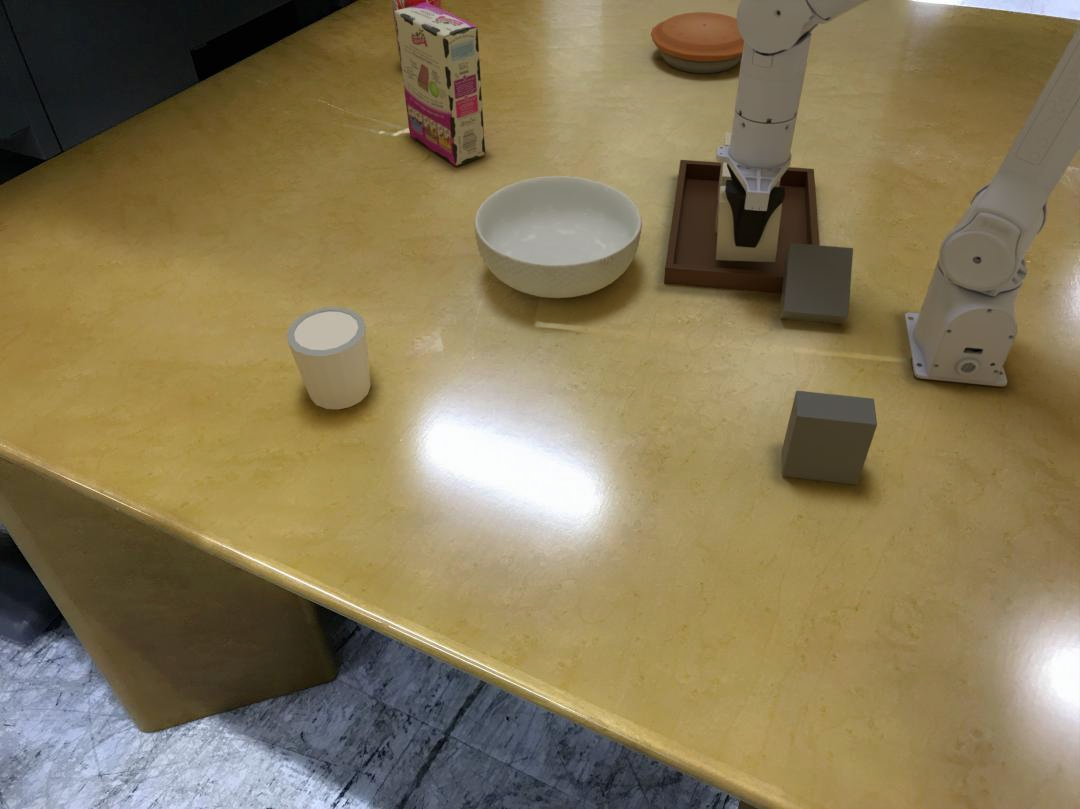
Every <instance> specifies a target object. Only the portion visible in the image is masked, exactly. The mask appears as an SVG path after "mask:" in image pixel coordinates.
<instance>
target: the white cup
mask: <svg viewBox="0 0 1080 809" xmlns="http://www.w3.org/2000/svg"><path fill="white" fill-rule="evenodd" d="M367 335H368V334H367V327H366V322H365V319H364V317H362V316H361V315H360V314H359V313H358V312H357V311H355V310H352V309H350V308H346V307H340V306H339V307H338V306H327V307H322V308H317V309H313V310H311V311H308V312H306V313H304V314H302V315H300V316H299V317H298V318H297V319H295V320H294V321H293V322H292V323H290V326H289V328H288V330H287V331H286V339H287V345H288V347H289V349H290V352H291V354H292V356H293V359H294V361H295V364H296V366H297V368H298V369H297V370H298V371H299V373H300V376H301V378H302V381H303V384H304V387H305V388H306V391H307V393H308V395H309V399H310V400H311V401H312V402H313V403H314V404H315V405H316V406H318V407H320V408H323V409H325V410H342V409H347V408H351V407H353V406H355V405H357V404H359V403H360V402H362V401H363V400H364V399H366V397H367V396H368V395H369V392H370V389H371V386H372V385H371V374H370V372H371V371H370V362H369V361H370V360H369V349H368V348H369V347H368V336H367Z"/></svg>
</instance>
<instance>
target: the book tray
mask: <svg viewBox="0 0 1080 809" xmlns="http://www.w3.org/2000/svg"><path fill="white" fill-rule="evenodd" d="M720 170H721V162H718V161H705V160H689V159H680V160H679V166H678V174H677V182H676V187H675V195H674V203H673V210H672V216H671V224H670V232H669V238H668V244H667V245H668V246H667V251H666V252H667V253H666V260H665V267H664V277H663V284H664V285H675V286H676V285H677V286H687V287H696V288H697V287H698V288H708V289H709V288H710V289H711V288H712V289H720V290H731V291H732V290H733V291H743V292H754V293H767V294H775V295H782V286H783V274H784V263H785V254H786V251H787V249H788V246H789V244H790V243H795V244H807V245H820V232H819V220H818V219H819V218H818V206H817V193H816V192H817V191H816V180H815V179H816V178H815V168H808V167H807V168H806V167H794V166H793V167H792V166H789V168H788V169H787V170H786V172H785V173H784V174H783V176H782V177H781V178H780V185H779V187H784V188H785V198H784V200H783V202H782V209H781V217H780V226H779V234H778V243H777V251H776V260H775V262H755V261H727V260H716V249H717V233H715V224H716V214H717V206H718V200H717V198H718V186H719V178H720ZM820 246H821V245H820Z"/></svg>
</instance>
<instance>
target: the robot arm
mask: <svg viewBox="0 0 1080 809" xmlns="http://www.w3.org/2000/svg"><path fill="white" fill-rule="evenodd" d="M868 1H869V0H740V1H739V3H738V6H737V11H736V19H737V26H738V30H739V33H740V35H741V37H742V38H743V40H744V46H743V53H742V58H741V59H740V65H739V66H740V67H739V73H738V74H739V75H738V81H737V89H736V96H735V103H734V112H733V118H732V119H733V120H732V125H731V126H732V127H731V132H730V133H731V140H730V146H724V145H720V146H717V148H716V155H715V160H716V162H725V163H727V168H728V170H729V173H730V175H731V179H732V180H726V188H725V193H726V197H727V200H728V202H729V204H730V206H731V209H732V214H733V224H734V240H735V245H736V246H738V247H750V248H755V247H756V246H757V244H758V242H759V240H760V238H761V236H762V234H763V231H764V229H765V226H766V224H767V222H768V220H769V218H770V217H771V215H772V214H773V212H774V211H775V210H776V209H777V207H778V206H779V205H781V204H782V202H783V200H784V198H785V188H784V187H774V186H775V185H776V183H777V182H778V181H779V179H780V178H781V177H782V176H783V174H784V173H785V172H786V170H787V169H788V168H789V167H791V163H792V158H793V157H792V156H793V155H792V152H791V150H792V146H793V140H794V135H795V130H796V123H797V119H798V112H799V107H800V103H801V96H802V92H803V87H804V80H805V75H806V71H807V70H806V69H807V65H808V57H809V51H810V47H811V46H810V45H811V40H812V32H813V31H814V30H815V28H817V27H818V26H819V25H823V24H827V23H830V22H832V21H833V20H835V19H837V18H839V17H841V16H843V15H844V14H846V13H848V12H850V11H852V10H853V9H855V8H857V7H860V6H861V5H863V4H864V3H866V2H868ZM1079 150H1080V24H1079V25H1078V26H1077V29H1076V30H1075V32H1074V33H1073V35H1072V37H1071V39H1070V41H1069V42H1068V44H1067V46H1066V48H1065V50H1064V52H1063V53H1062V54H1061V58H1060V59H1059V61H1058V62H1057V63H1056V66H1055V67H1054V69H1053V72H1052V73H1051V75H1050V76H1049V78H1048V80H1047V81H1046V83H1045V85H1044V87H1043V89H1042V91H1041V92H1040V94H1039V95H1038V98H1037V99H1036V101H1035V103H1034V105H1033V107H1032V108H1031V110H1030V112H1029V114H1028V116H1027V117H1026V119H1025V121H1024V123H1023V125H1022V127H1021V128H1020V130H1019V131H1018V133H1017V135H1016V137H1015V139H1014V141H1013V142H1012V145H1011V146H1010V147H1009V149H1008V151H1007V153H1006V155H1005V157H1004V158H1003V160H1002V162H1001V164H1000V166H999V168H997V171H996V172H995V174H994V176H993V177H992V179H991V181H990V182H987V184H985V185H983V186H982V187H980V189H978V190H977V191H976V193H975V194H974V196H973V197H972V199H971V201H970V204H969V206H968V208H967V209H966V210H965V212H964V214H962V216H961V218H960V219H959V220H958V222H957V223H956V225H955V226H954V228H952V230H950V231H948V233H947V234H946V236H945V237H944V238H943V240H942V242H941V243H940V247H939V252H938V259H937V262H936V265H935V268H934V271H933V274H932V276H931V280H930V283H929V286H928V288H927V291H926V294H925V297H924V299H923V303H922V306H921V309H920V312H906V313H905V314H904V318H905V323H906V330H907V335H908V341H909V346H910V352H911V356H912V357H910V360H911V365H912V369H913V371H912V372H913V375H914V376H915V377H916V378H917V379H921V380H931V381H942V382H953V383H962V384H973V385H983V386H990V387H991V386H993V387H1000V388H1001V387H1002V388H1003V387H1006V386H1007V384H1008V379H1007V375H1006V372H1005V368H1004V365H1005V362H1006V361H1007V358H1008V356H1009V354H1010V352H1011V349H1012V348H1013V345H1014V343H1015V341H1016V338H1017V335H1018V331H1019V330H1018V329H1019V328H1018V321H1017V316H1016V302H1017V298H1018V295H1019V293H1020V291H1021V289H1022V286H1023V284H1024V281H1025V279H1026V277H1027V273H1028V267H1027V265H1026V264H1027V262H1026V258H1025V256H1026V254H1027V252H1028V251H1029V249H1030V247H1031V245H1032V244H1033V242H1034V240H1035V239H1036V237H1037V235H1038V234H1039V233H1041V231H1042V229H1043V228H1044V226H1045V224H1046V222H1047V218H1048V203H1049V198H1050V197H1051V195H1052V193H1053V191H1054V190H1055V189H1056V187H1057V186H1058V184H1059V182H1060V180H1061V179H1062V177H1063V176H1064V174H1065V172H1066V171H1067V169H1068V167H1069V166H1070V165H1071V163H1072V161H1073V160H1074V158H1075V157H1076V155H1077V154H1078V152H1079ZM909 318H911V319H909Z"/></svg>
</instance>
